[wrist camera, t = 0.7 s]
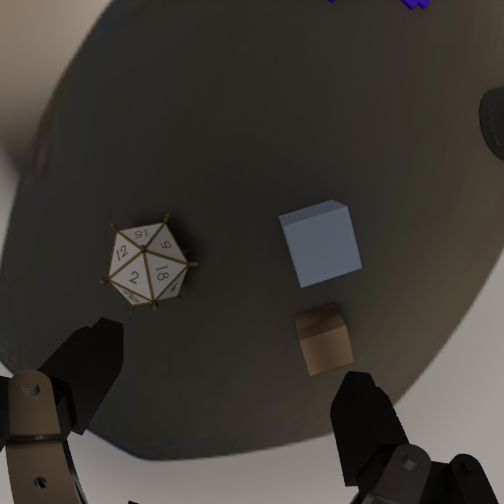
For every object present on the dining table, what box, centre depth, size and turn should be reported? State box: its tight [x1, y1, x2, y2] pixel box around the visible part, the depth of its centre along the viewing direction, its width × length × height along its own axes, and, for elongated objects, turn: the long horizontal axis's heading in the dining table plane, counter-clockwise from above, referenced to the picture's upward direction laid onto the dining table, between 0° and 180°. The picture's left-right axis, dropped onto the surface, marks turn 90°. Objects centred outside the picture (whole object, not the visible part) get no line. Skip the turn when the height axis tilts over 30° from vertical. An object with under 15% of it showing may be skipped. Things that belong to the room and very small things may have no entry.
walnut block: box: [294, 303, 353, 376], centre depth 30 cm, size 4×4×5 cm
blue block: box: [278, 200, 362, 288], centre depth 27 cm, size 6×6×5 cm
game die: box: [99, 213, 198, 313], centre depth 27 cm, size 9×8×10 cm
